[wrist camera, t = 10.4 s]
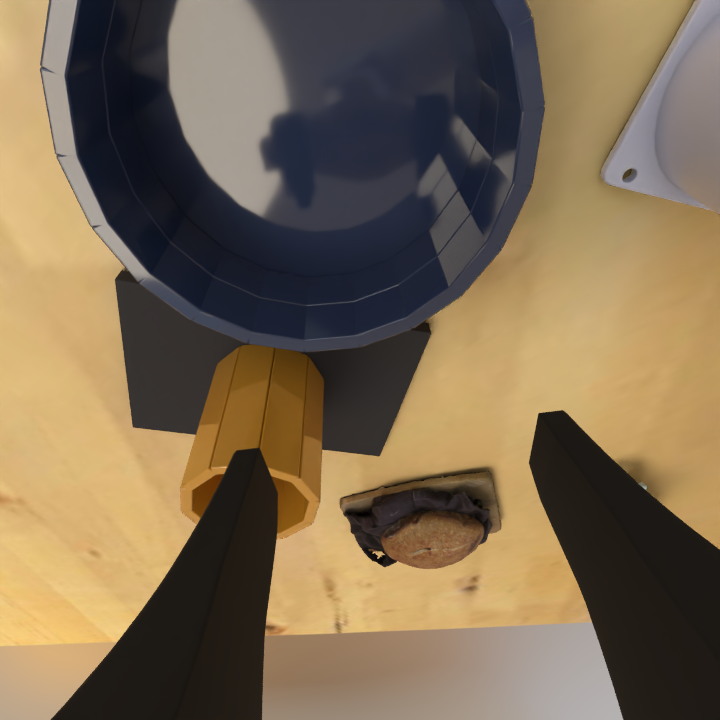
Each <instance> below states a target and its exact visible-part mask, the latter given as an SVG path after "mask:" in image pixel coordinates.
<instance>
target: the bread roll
mask: <svg viewBox="0 0 720 720" xmlns="http://www.w3.org/2000/svg"><path fill="white" fill-rule="evenodd" d="M340 508H341V510H342V511H343V514H344V516H346V517H347V519H348V521H349V522H350V525H351V533H352V534H354V535H355V538H356V541H357V542H358V544H359V546H360V547H361V548H362V550H363V551H364V553H365V554H366V555H367V556H368V557H369V558H370V559H371V560H372V561H374V562H375V561H376V562H377V563H378V564H380V565H382V566H383V567H387V566H390V565H392V564H394V563H396V562H397V561H399V562H401V563H404V564H406V565H409V566H412V567H416V568H423V569H436V568H441V567H445V566H448V565H451V564H454V563H456V562H458V561H461V560H462V559H463V558H465V557H466V556H468V555H469V554H470V553H472V552H473V551H474V550H475V549H476V548H477V547H478V545H480V544H482V543H484V542H485V541H486V540H487V536H488V534H489V533H495V532H497V531H499V530H500V529H501V520H500V518H499V511H498V505H497V502H496V498H495V491H494V487H493V482H492V477H491V474H490V473H489V471H488V472H486V473H484V472H482V473H479V472H478V474H476V473H474V474H473V473H468V474H467V475H466V474H460V475H455V476H454V477H452V476H451V475H450V476H449V477H446V478H443V475H442V477H441V479H440V478H435V479H433V478H431V479H426V480H424V482H423V481H417V482H416V481H415V480H414V481H413V482H410V483H406V484H400V485H398V486H392V487H388V488H384V487H383V486H382V487H380V488H379V490H376V491H369V492H367V493H365V494H364V493H363V494H357V495H353V494H352V496H350V497H346V498H342V499H340ZM374 551H381V552H383V553H384V554H385V555H382V557H380V558H379V559H377V558H376V557H378V556H377V555H376V554H375V553H374V554H372V553H373V552H374Z"/></svg>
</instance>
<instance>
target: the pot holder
mask: <svg viewBox="0 0 720 720" xmlns="http://www.w3.org/2000/svg"><path fill="white" fill-rule="evenodd" d="M115 283H116V292H117V300H118V308H119V316H120V325H121V333H122V341H123V350H124V358H125V366H126V374H127V383H128V391H129V399H130V407H131V416H132V424H133V427H135V428H143V429H152V430H160V431H169V432H177V433H186V434H195V435H196V433H197V430H198V426H199V423H200V420H201V416H202V413H203V410H204V406H205V403H206V400H207V396H208V393H209V389H210V386H211V383H212V379H213V376H214V373H215V369H216V366H217V364H218V363H219V362H220V361H221V360H223V359H224V358H225V357H226V356H228V355H229V354H230V353H231V352H233V351H234V350H235V349H236V348H238V347H239V346H240V347H241V346H242V345H251V344H249V343H245V342H242V341H240V340H237V339H235V338H232V337H230V336H227V335H225V334H223V333H220V332H218V331H215V330H213V329H210V328H208V327H205V326H203V325H201V324H198V323H196V322H194V321H193V320H190V319H188V318H187V317H185V316H184V315H183V314H181V313H180V312H178V311H177V310H176V309H174V308H173V307H171V306H170V305H169V304H167V303H166V302H164V301H163V300H162V299H160V298H159V297H158V296H156V295H155V294H153V293H152V292H151V291H149V290H148V289H146V288H145V287H144V286H142V285H141V284H140V283H139V282H138V281H137V280H136V279H135V278H134V277H133V276H132V275H131V273H130V272H128V271H121V272H120V273H119V275H118V276H117V277H116V279H115ZM430 335H431V331H430V327H429V324H427V323H421V324H419V325H418V326H416V327H415V328H412V329H411V330H409V331H406V332H403V333H400V334H397V335H394V336H391V337H389V338H386V339H383V340H380V341H377V342H374V343H371V344H369V345H366V346H363V347H358V348H350V349H339V350H327V351H316V352H305V351H304V352H300V353H303V354H305V355H307V356H308V357H310V359H311V360H312V362H313V363H314V365H315V366H316V368H317V369H318V371H319V373H320V374H321V376H322V377H323V379H324V398H323V431H322V450H331V451H339V452H348V453H356V454H365V455H374V456H380V454H381V452H382V449H383V447H384V445H385V442H386V440H387V437H388V435H389V433H390V430H391V428H392V425H393V423H394V421H395V418H396V416H397V414H398V411H399V409H400V406H401V404H402V402H403V399H404V397H405V394H406V392H407V390H408V387H409V385H410V382H411V380H412V378H413V375H414V373H415V371H416V368H417V366H418V363H419V361H420V359H421V356H422V354H423V351H424V349H425V347H426V344H427V342H428V340H429V337H430Z"/></svg>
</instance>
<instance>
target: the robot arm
mask: <svg viewBox="0 0 720 720" xmlns="http://www.w3.org/2000/svg"><path fill="white" fill-rule="evenodd" d="M629 169H632V172H631V174H630V175H629V176H628V177H627V178H625V179H622V177H623V174H624V173H625V172H626V171H627V170H629ZM601 178H602V180H603V181H604V182H605V183H607V184H609V185H611V186H615V187H619V188H623V189H627V190H631V191H635V192H639V193H643V194H647V195H651V196H655V197H659V198H663V199H667V200H671V201H675V202H679V203H683V204H687V205H691V206H695V207H699V208H703V209H707V210H711V211H714V212H715V213H717V214H718V215H720V0H695V1H694V3H693V5H692V7H691V8H690V10H689V12H688V14H687V16H686V17H685V19H684V21H683V23H682V25H681V26H680V28H679V30H678V32H677V34H676V35H675V37H674V39H673V41H672V43H671V44H670V46H669V48H668V50H667V52H666V53H665V55H664V57H663V59H662V61H661V62H660V64H659V66H658V68H657V69H656V71H655V73H654V75H653V77H652V78H651V80H650V82H649V84H648V86H647V87H646V89H645V91H644V93H643V95H642V96H641V98H640V100H639V102H638V104H637V105H636V107H635V109H634V111H633V113H632V114H631V116H630V118H629V120H628V122H627V123H626V125H625V127H624V129H623V131H622V132H621V134H620V136H619V138H618V140H617V141H616V143H615V145H614V147H613V149H612V150H611V152H610V154H609V156H608V158H607V159H606V161H605V163H604V165H603V167H602V169H601ZM529 464H530V468H531V471H532V474H533V478H534V481H535V484H536V487H537V490H538V494H539V497H540V500H541V502H542V504H543V507H544V509H545V511H546V514H547V516H548V518H549V520H550V523H551V525H552V527H553V529H554V532H555V534H556V536H557V538H558V540H559V543H560V545H561V547H562V549H563V552H564V554H565V556H566V558H567V560H568V563H569V565H570V567H571V569H572V571H573V574H574V576H575V578H576V580H577V583H578V585H579V587H580V590H581V592H582V595H583V597H584V600H585V602H586V605H587V608H588V611H589V614H590V617H591V620H592V623H593V626H594V629H595V631H596V634H597V637H598V640H599V643H600V646H601V649H602V652H603V656H604V658H605V662H606V664H607V668H608V671H609V674H610V677H611V680H612V683H613V686H614V690H615V693H616V696H617V700H618V703H619V706H620V710H621V713H622V716H623V719H624V720H720V549H718V548H717V547H715V546H714V545H713V544H711V543H710V542H709V541H708V540H706V539H705V538H704V537H702V536H701V535H700V534H698V533H697V532H696V531H694V530H693V529H692V528H691V527H689V526H688V525H687V524H685V523H684V522H683V521H682V520H681V519H679V518H678V517H677V516H676V515H674V514H673V513H672V512H671V511H670V510H668V509H667V508H666V507H665V506H664V505H662V504H661V503H660V502H659V501H658V500H657V499H655V498H654V497H653V496H652V495H651V494H650V493H649V492H647V491H646V490H645V489H644V488H643V487H642V486H641V485H639V484H638V483H637V482H636V481H635V480H634V479H633V478H632V477H631V476H630V475H629V474H628V473H626V472H625V471H624V470H623V469H622V468H621V467H620V466H619V465H618V464H617V463H616V462H615V461H614V460H613V459H612V458H611V457H609V456H608V455H607V454H606V453H605V452H604V451H603V450H602V449H601V448H600V447H599V446H598V445H597V444H596V443H595V442H594V441H593V440H592V439H591V438H590V437H589V436H588V435H587V434H586V433H585V432H584V431H583V430H582V429H581V428H580V427H579V426H578V425H577V423H576V422H575V421H574V420H573V419H572V418H571V417H570V416H569V415H568V414H567V413H566V412H564V411H563V410H562V411H553V412H545V413H539V414H538V419H537V425H536V430H535V435H534V440H533V445H532V450H531V455H530V460H529ZM277 527H278V492H277V489H276V487H275V484H274V482H273V479H272V477H271V474H270V472H269V469H268V467H267V465H266V462H265V460H264V457H263V455H262V452H261V450H260V448H252V449H243V450H236V452H235V453H234V454H233V456H232V458H231V460H230V462H229V464H228V466H227V469H226V471H225V473H224V475H223V477H222V479H221V481H220V483H219V485H218V487H217V489H216V491H215V492H214V494H213V496H212V498H211V500H210V502H209V504H208V506H207V508H206V509H205V511H204V513H203V515H202V517H201V518H200V520H199V522H198V524H197V526H196V527H195V529H194V531H193V533H192V534H191V536H190V538H189V539H188V541H187V543H186V544H185V546H184V548H183V549H182V551H181V552H180V554H179V556H178V557H177V559H176V561H175V562H174V564H173V565H172V567H171V569H170V570H169V572H168V573H167V575H166V576H165V578H164V579H163V581H162V582H161V584H160V585H159V587H158V588H157V590H156V591H155V592H154V594H153V595H152V597H151V598H150V599H149V601H148V602H147V604H146V605H145V606H144V608H143V609H142V611H141V612H140V613H139V615H138V616H137V617H136V619H135V620H134V621H133V622H132V624H131V625H130V626H129V628H128V629H127V630H126V632H125V633H124V634H123V636H122V637H121V638H120V640H119V641H118V642H117V643H116V645H115V646H114V647H113V648H112V650H111V651H110V652H109V653H108V655H107V656H106V657H105V658H104V659H103V661H102V662H101V663H100V664H99V665H98V667H97V668H96V669H95V670H94V671H93V672H92V674H91V675H90V676H89V677H88V678H87V679H86V680H85V682H84V683H83V684H82V685H81V686H80V687H79V688H78V690H77V691H76V692H75V693H74V694H73V696H72V697H71V698H70V699H69V700H68V701H67V702H66V704H65V705H64V706H63V707H62V708H61V709H60V710H59V711H58V712H57V713H56V715H55V716H54V717H53V718H52V719H51V720H262V692H263V661H264V637H265V626H266V616H267V608H268V601H269V593H270V585H271V578H272V570H273V563H274V555H275V547H276V539H277Z"/></svg>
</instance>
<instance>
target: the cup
mask: <svg viewBox="0 0 720 720" xmlns="http://www.w3.org/2000/svg"><path fill="white" fill-rule="evenodd" d="M323 398H324V379H323V377H322V376H321V374H320V373H319V371H318V369H317V368H316V366H315V365H314V363H313V362H312V360H311V359H310V357H308V356H307V355H305V354H303V353H300V352H298V351H291V350H285V349H278V348H272V347H265V346H259V345H252V344H251V345H242V346H241V347H240V346H239V347H238V348H236V349H235V350H234V351H233V352H231V353H230V354H229V355H228V356H226V357H225V358H224V359H223V360H221V361H220V362H219V363H218V364H217V366H216V369H215V373H214V376H213V379H212V383H211V386H210V389H209V393H208V396H207V400H206V403H205V406H204V410H203V413H202V416H201V420H200V423H199V426H198V430H197V433H196V436H195V440H194V443H193V446H192V450H191V453H190V457H189V460H188V463H187V467H186V470H185V473H184V477H183V480H182V483H181V487H180V501H181V511H182V513H183V514H184V515H185V516H187V517H188V518H189V519H190V520H192V521H193V522H194V523H196V524H198V522H199V520H200V518H201V517H202V515H203V513H204V511H205V509H206V508H207V506H208V504H209V502H210V500H211V498H212V496H213V494H214V492H215V491H216V489H217V487H218V485H219V483H220V481H221V479H222V477H223V475H224V473H225V471H226V469H227V466H228V464H229V462H230V460H231V458H232V456H233V454H234V453H235V452H236V450H243V449H252V448H260V450H261V452H262V455H263V457H264V460H265V462H266V465H267V467H268V469H269V472H270V474H271V477H272V479H273V482H274V484H275V487H276V489H277V492H278V527H277V539H283V537H284V538H286V537H288V536H290V535H292V534H294V533H296V532H298V531H300V530H302V529H304V528H306V527H308V526H310V525H312V523H313V522H314V520H315V517H316V513H317V510H318V507H319V504H320V496H321V463H322V431H323Z"/></svg>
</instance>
